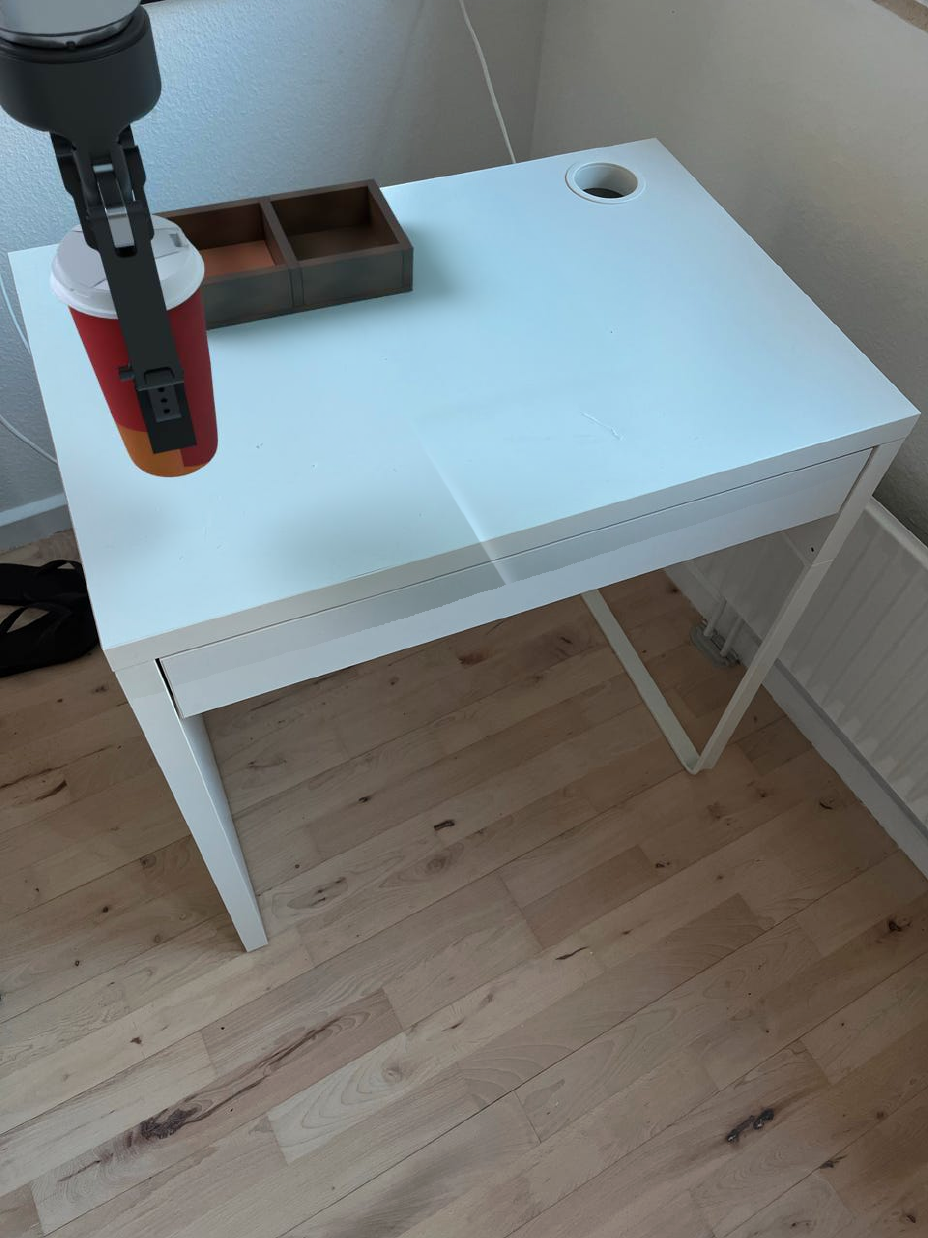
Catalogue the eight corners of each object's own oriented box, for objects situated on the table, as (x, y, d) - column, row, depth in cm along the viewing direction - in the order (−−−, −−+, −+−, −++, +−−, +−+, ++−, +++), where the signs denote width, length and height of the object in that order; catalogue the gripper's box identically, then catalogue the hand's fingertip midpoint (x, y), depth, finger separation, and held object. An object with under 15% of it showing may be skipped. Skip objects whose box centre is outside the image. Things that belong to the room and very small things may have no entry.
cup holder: (178, 335, 83) (168, 291, 79) (153, 258, 89) (143, 214, 85) (412, 290, 89) (413, 247, 85) (374, 221, 94) (374, 177, 91)
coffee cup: (215, 391, 67) (177, 194, 55) (251, 470, 63) (219, 277, 51) (95, 421, 64) (27, 222, 52) (125, 505, 60) (59, 311, 48)
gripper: (195, 119, 37) (258, 502, 56) (107, -92, 48) (184, 289, 66) (-5, 143, 35) (129, 531, 54) (-51, -82, 46) (75, 307, 65)
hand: (160, 397), depth 60 cm, fingers closed on coffee cup, 8 cm apart
